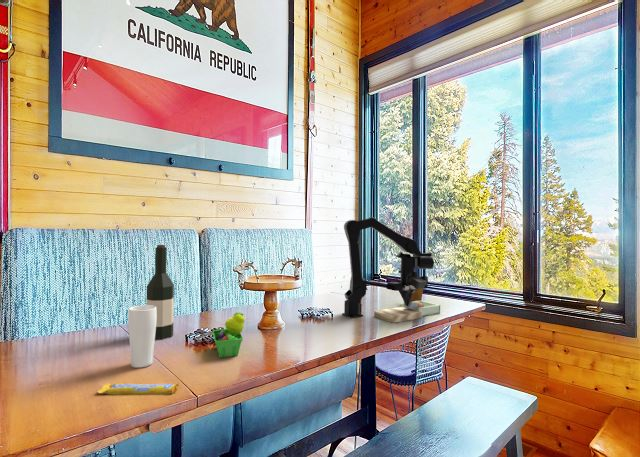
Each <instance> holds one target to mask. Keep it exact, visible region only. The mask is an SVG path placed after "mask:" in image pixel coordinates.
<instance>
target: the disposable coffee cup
mask: <svg viewBox="0 0 640 457" xmlns="http://www.w3.org/2000/svg"><path fill="white" fill-rule="evenodd" d="M415 289H416V288H415ZM423 292H424V288H423V289H422V288H419V289H417V291H415V292H414V293H413V295H412V297H411V299H410V302H414V301H423V300H422V299H423Z"/></svg>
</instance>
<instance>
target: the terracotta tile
mask: <svg viewBox="0 0 640 457" xmlns="http://www.w3.org/2000/svg"><path fill="white" fill-rule="evenodd" d="M416 303H417V304H418V307H417V311H418V308H421V307H424V304H422V303H418V302H416Z"/></svg>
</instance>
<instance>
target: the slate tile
mask: <svg viewBox="0 0 640 457" xmlns="http://www.w3.org/2000/svg"><path fill="white" fill-rule="evenodd" d="M403 303H404V302H403ZM403 307H405V308H409V309H412V310H416V311H417V307H418V304H417V303H414V302H409V305H408V306H406V305H405V303H404V306H403Z"/></svg>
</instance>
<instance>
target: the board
mask: <svg viewBox="0 0 640 457" xmlns="http://www.w3.org/2000/svg"><path fill="white" fill-rule="evenodd" d="M373 314H374V315H373V317H374V318H377V319H380V320H382V321H386V322H389V323H393V324H395V323H400V322H405V321H412V320H417V319H422V317H423V316H422V312H420V311H416V310H412V309H409V308H405V307H400V306H399V307H392V308H385V309H377V310H374V311H373Z"/></svg>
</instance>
